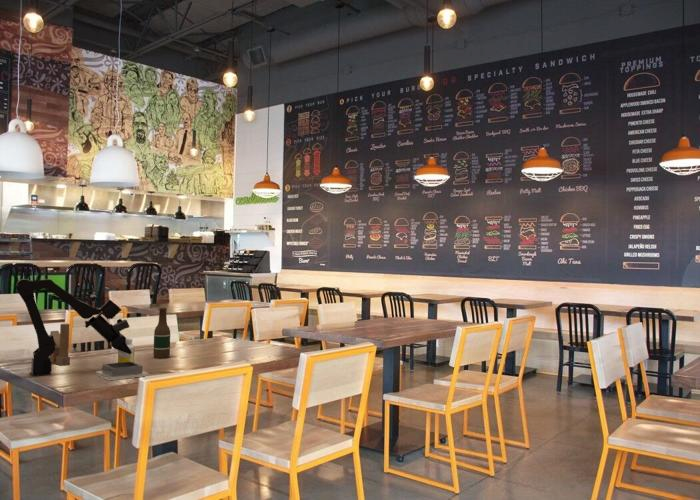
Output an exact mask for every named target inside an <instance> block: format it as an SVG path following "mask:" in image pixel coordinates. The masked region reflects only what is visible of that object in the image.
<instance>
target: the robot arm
mask: <svg viewBox="0 0 700 500" xmlns="http://www.w3.org/2000/svg"><path fill="white" fill-rule="evenodd" d="M15 289H16V291H17V293H18V294H19V296H20V297H21V299H22V301H23V302H24V304H25V306H26V309H27V311H28V315H29V317H30V319H31V323H32V325H33V328H34V331H35V333H36V339H37V345H38V348H36V349H35V350H34V351H33V352H32V356H33V358H31V370H30V372H29V374H30V375H31V376H33V377H34V376H35V377H36V376H47V375H52V368H53V367H52V362H51V361H50V355H51V354H53V353H54V351H55V345H56V343H55V341H54V338H53V335H52V334H51V335H50V334H49V333H48V331H47V330H46V327H45V324H44V321H43V320H42V316H41V314H40V313H41V312H40V310H39V308H38V306H37V302H36V299H35V294H34V291H38V290H48V291H49V292H51V293H52V294H53V295H55V296H57V297H58V298H59V299H61V300H62V301H63V302H65V304H68V305H69V306H70V307H71V308H72V309H73V310H74V311H75V312H76V313H77V314H78V315H79V316H80V317H81V318H82V319H85V321H84V327H85V329H88V328H89V327H92V328H93V329H94V330H95V331H96V332H97V333H98V334H99V335H100V336H101V337H102V338H104V340H105V341H106V342H107V343H108V344H109V345H110V346H111V347H112V348H113V349H115V350H117V351H118V350H120V351H123V352H125V353H128V354H131V353H132V352H131V350H130V349H129V347H128V346H127V344H126V343H125V342H126V336H125V335H123V333H121V331H124V330H126V329H129V328H130V324H129V322H128V320H127V319H121V318H119V319H117V320H116V323H114V324H112V323H110V322H109V321H108V320H113V319H114V318H115V317H116V316H117V315H118V314H119V313H121V311H122V309H121V307H120V306H118V305H117V304H116V303H115V302H114V301H112V299H108V300H107V301H106V302H105V303H104V304H103V305H102V306H100V307H94V306H91V304H88V303H87V302H84V301H82V300H80V299H78V298H76V297H74V295H72V294H71V293H70V292H68V291H66V290H65V289H63V288H62V287H61V286H60V285H59V284H57V283H55V282H54V281H53V280H52V279H50V278H45V279H37V280H36V279H35V280H30V279H28V278H21V279H19V280H18V281H17V282H16V285H15ZM95 315H96V316H95ZM102 315H103V316H102ZM104 317H105V318H106V319H105V318H104Z"/></svg>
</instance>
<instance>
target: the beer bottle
mask: <svg viewBox="0 0 700 500" xmlns="http://www.w3.org/2000/svg"><path fill="white" fill-rule="evenodd" d="M158 310H159V314H158V323H157V325H156V326H155V329H154V332H153V351H152V352H153V359H158V360H161V359H164V360H165V359H169V358H170V355H171V352H170V351H171V330H170V327H169V325H168V322H167V320H168V319H167V311H168V309H167V307H165V306H164V307H159V309H158Z"/></svg>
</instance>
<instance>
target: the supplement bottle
mask: <svg viewBox="0 0 700 500" xmlns="http://www.w3.org/2000/svg"><path fill="white" fill-rule="evenodd" d="M125 343H126V344H127V346H128V347H129V349H130V350H131V352H132V353H131V354H128V353H125V352H123V351H120V350H117V363H120V362H134V363H135V351H136V350H135V348H136V347H135V345H134V344H132V343H133V338H129V337H127V338H126V342H125Z"/></svg>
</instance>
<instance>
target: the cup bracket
mask: <svg viewBox="0 0 700 500" xmlns="http://www.w3.org/2000/svg"><path fill="white" fill-rule="evenodd" d="M101 367H102V370H95V375H97V376H98V377H101V378H102V379H105V380H106V381H108V382H109V381H110V380H112V381H118V380H117V379H121V380H127V379H126V378H131V379H136V378H135V377H140V378H142V377H141V376H147V375H149V376H150V373H148V372H147V371H144V370H143V367H144V366H143V365H141V364H139V363H137V362H135V361H134V362H120V363H118V362H112V363H102V365H101ZM110 382H111V381H110Z"/></svg>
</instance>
